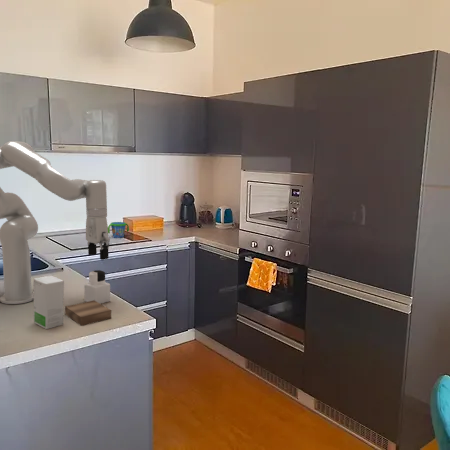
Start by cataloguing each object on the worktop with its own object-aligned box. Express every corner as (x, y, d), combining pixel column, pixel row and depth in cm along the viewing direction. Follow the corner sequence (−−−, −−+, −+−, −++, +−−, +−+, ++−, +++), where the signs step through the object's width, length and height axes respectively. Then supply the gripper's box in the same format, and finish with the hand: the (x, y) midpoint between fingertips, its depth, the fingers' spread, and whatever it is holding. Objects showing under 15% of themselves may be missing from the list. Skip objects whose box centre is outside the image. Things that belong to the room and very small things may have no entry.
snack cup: (125, 235, 310) (125, 221, 308) (132, 237, 302) (132, 223, 300) (104, 236, 301) (104, 222, 299) (110, 239, 292) (110, 224, 291)
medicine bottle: (99, 297, 173) (99, 268, 171) (110, 301, 169) (110, 271, 167) (84, 301, 168) (83, 271, 166) (94, 305, 163) (94, 275, 161)
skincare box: (33, 323, 144) (32, 278, 142) (51, 318, 149) (50, 274, 147) (46, 330, 139) (45, 283, 137) (65, 324, 144) (64, 279, 142)
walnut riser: (65, 314, 153) (65, 306, 153) (94, 308, 160) (94, 300, 160) (81, 325, 144) (80, 317, 143) (111, 318, 151) (111, 310, 151)
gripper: (77, 211, 167) (79, 254, 169) (98, 216, 154) (99, 262, 157) (95, 210, 172) (97, 251, 174) (117, 214, 159) (118, 259, 162)
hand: (98, 256), depth 165 cm, fingers open, 9 cm apart
